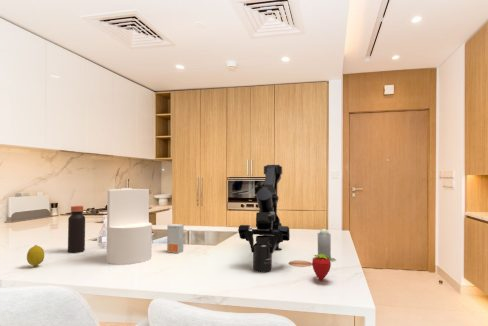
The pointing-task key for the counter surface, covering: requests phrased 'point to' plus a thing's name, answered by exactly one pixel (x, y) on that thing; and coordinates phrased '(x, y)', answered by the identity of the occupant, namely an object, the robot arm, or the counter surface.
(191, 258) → the counter surface
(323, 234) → the grey tube
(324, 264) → the strawberry
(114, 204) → the white stepped holder
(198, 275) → the counter surface
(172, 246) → the skincare box
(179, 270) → the counter surface
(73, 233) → the vinegar
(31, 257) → the lemon
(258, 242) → the supplement bottle
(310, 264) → the card
